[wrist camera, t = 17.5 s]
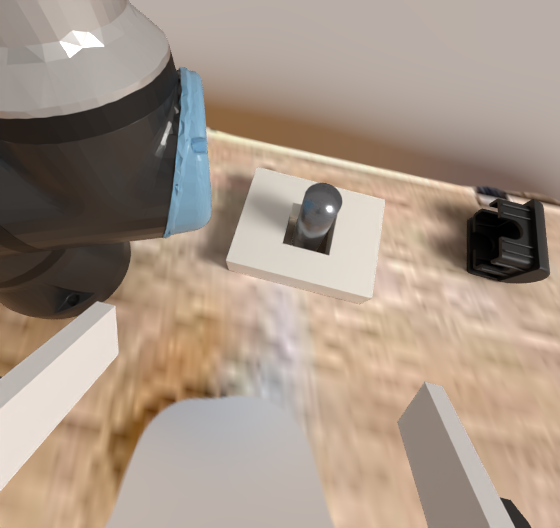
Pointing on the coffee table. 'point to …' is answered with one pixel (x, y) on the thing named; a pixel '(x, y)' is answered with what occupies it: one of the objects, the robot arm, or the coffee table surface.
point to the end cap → (508, 242)
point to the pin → (316, 215)
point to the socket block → (300, 262)
